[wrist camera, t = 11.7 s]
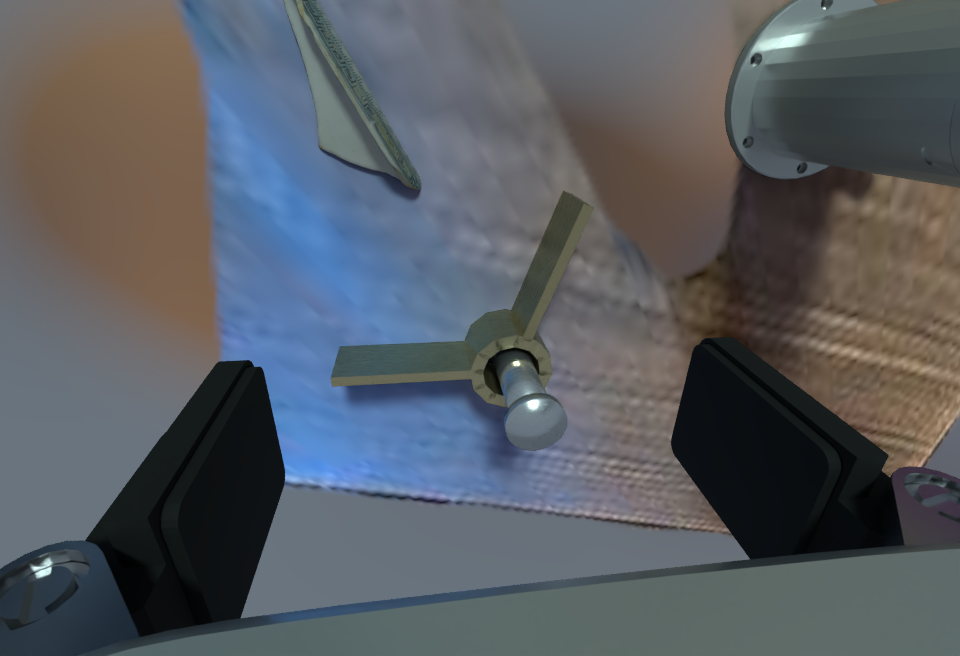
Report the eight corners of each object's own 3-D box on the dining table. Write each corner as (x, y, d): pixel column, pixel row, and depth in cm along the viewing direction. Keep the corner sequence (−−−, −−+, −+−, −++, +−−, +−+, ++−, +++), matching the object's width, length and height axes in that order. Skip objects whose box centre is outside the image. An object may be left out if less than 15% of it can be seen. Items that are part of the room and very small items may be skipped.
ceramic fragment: (424, 184, 36) (425, 192, 32) (365, 217, 36) (360, 229, 33) (312, -18, 30) (298, -34, 26) (243, 25, 30) (221, 15, 27)
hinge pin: (535, 328, 42) (577, 407, 31) (517, 367, 44) (551, 455, 33) (491, 315, 41) (520, 393, 30) (474, 356, 42) (496, 443, 32)
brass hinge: (603, 206, 38) (628, 221, 33) (512, 398, 45) (523, 431, 41) (403, 127, 34) (402, 132, 29) (337, 353, 41) (328, 385, 36)
